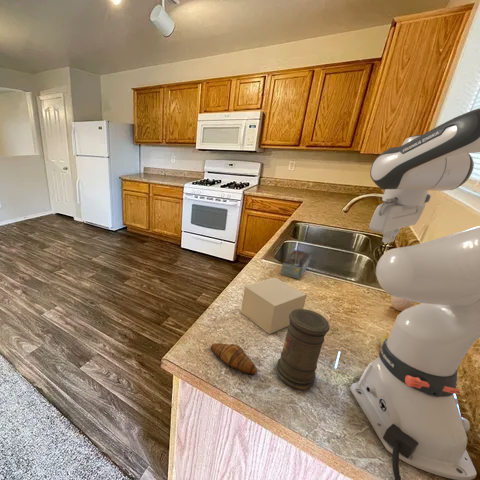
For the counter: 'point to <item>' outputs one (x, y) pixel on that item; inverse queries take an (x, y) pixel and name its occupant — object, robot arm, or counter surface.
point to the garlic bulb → (401, 303)
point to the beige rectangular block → (271, 303)
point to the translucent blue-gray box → (296, 264)
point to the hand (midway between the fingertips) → (387, 242)
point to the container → (302, 348)
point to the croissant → (234, 357)
